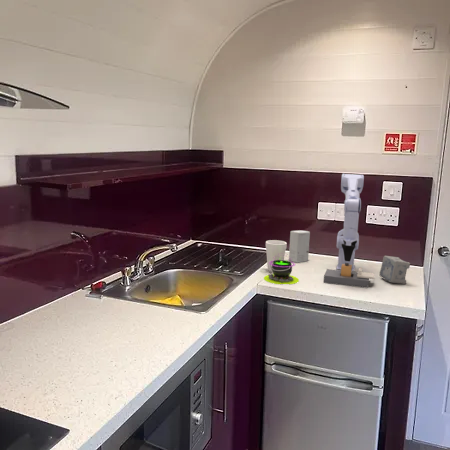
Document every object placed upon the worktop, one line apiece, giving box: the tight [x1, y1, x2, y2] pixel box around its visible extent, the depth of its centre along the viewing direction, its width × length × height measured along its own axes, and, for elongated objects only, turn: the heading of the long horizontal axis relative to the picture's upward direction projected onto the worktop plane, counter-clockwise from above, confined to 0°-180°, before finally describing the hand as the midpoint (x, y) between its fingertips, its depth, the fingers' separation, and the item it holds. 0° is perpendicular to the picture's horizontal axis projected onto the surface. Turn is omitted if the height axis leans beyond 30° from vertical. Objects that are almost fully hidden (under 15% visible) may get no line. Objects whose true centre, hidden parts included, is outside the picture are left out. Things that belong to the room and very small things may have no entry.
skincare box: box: [288, 229, 311, 264], centre depth 230 cm, size 8×6×15 cm
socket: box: [323, 268, 370, 289], centre depth 199 cm, size 11×18×3 cm, turn 71°
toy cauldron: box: [263, 252, 300, 285], centre depth 199 cm, size 15×15×11 cm
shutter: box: [357, 267, 375, 280], centre depth 196 cm, size 7×7×3 cm
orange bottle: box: [340, 263, 352, 277], centre depth 199 cm, size 4×4×8 cm
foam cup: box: [265, 239, 288, 273], centre depth 212 cm, size 10×9×13 cm
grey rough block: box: [379, 255, 411, 285], centre depth 201 cm, size 10×8×10 cm
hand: (348, 258), depth 198 cm, fingers open, 7 cm apart
